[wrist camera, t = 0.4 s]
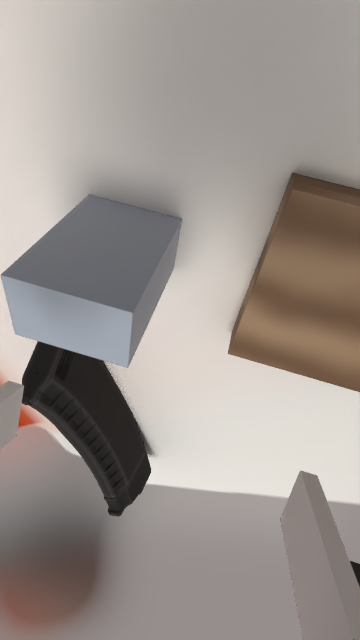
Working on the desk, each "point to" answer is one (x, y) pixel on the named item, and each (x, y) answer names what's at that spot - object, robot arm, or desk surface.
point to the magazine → (89, 419)
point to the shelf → (307, 287)
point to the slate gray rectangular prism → (94, 279)
